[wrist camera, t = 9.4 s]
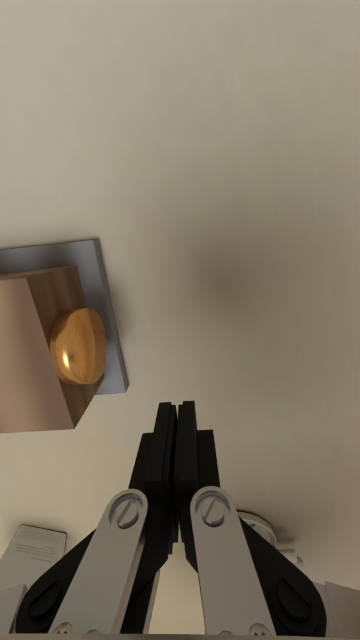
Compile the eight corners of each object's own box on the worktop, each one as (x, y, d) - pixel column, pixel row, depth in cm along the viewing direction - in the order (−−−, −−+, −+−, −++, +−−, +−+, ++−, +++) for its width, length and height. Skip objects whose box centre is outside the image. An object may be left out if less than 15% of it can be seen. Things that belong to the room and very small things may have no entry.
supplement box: (20, 523, 36) (-64, 665, 24) (68, 532, 36) (9, 677, 24) (18, 550, 38) (-58, 693, 26) (63, 559, 39) (8, 703, 27)
